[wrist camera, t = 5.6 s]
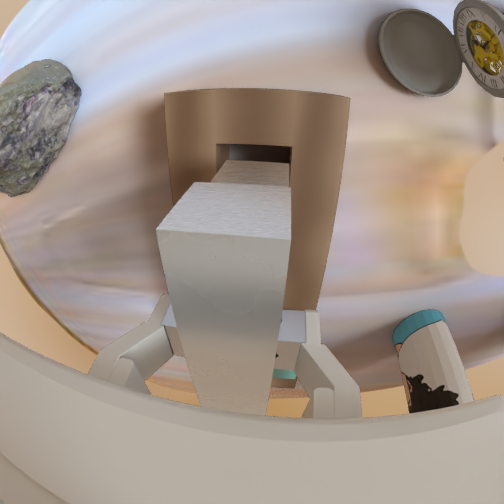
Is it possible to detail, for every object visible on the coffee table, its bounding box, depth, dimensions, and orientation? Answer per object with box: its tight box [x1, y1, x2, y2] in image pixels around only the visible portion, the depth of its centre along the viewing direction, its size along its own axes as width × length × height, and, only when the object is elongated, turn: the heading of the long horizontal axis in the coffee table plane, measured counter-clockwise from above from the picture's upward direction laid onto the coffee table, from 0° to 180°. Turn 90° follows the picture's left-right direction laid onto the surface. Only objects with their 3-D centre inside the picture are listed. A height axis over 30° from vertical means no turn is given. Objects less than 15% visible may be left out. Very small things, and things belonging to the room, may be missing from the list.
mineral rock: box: [0, 59, 81, 197], centre depth 14 cm, size 13×11×10 cm
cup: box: [393, 310, 474, 413], centre depth 21 cm, size 7×7×15 cm
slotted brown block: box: [164, 88, 350, 388], centre depth 22 cm, size 10×28×4 cm, turn 179°
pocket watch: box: [378, 0, 504, 98], centre depth 8 cm, size 8×8×10 cm
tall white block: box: [156, 160, 291, 416], centre depth 12 cm, size 3×10×8 cm, turn 179°
